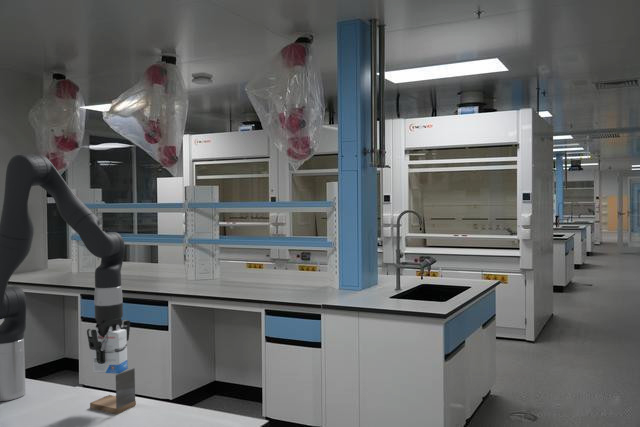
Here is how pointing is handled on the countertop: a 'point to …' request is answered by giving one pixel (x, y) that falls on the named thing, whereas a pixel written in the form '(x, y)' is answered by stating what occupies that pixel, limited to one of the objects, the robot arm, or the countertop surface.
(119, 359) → the ink box
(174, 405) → the countertop surface
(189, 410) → the countertop surface
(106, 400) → the wooden base bookend
